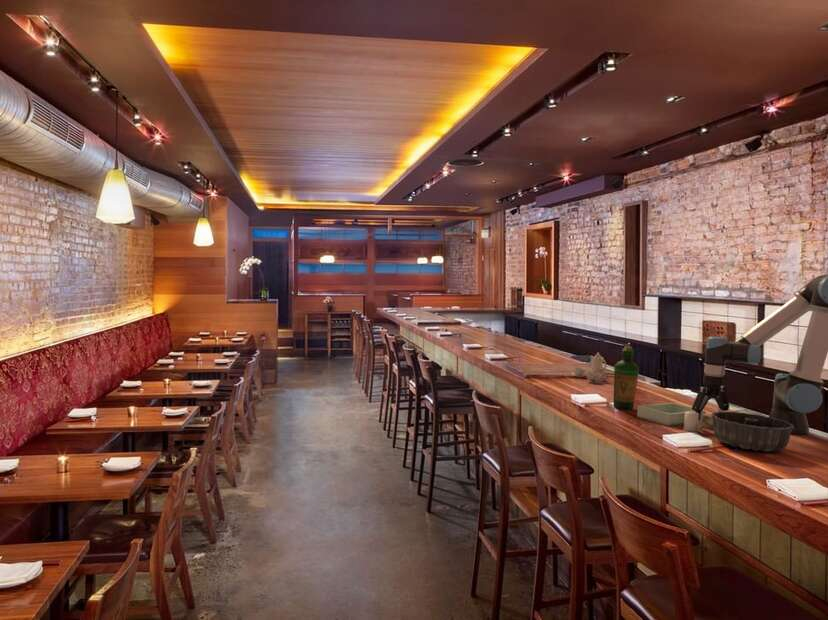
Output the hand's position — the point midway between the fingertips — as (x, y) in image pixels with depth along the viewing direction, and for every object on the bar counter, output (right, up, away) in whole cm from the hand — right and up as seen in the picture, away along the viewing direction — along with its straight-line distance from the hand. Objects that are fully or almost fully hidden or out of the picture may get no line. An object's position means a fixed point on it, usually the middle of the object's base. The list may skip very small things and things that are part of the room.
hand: (709, 426), depth 248 cm
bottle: (-25, +3, +28) cm, 38 cm away
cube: (0, 0, 0) cm, 0 cm away
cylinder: (-11, 0, -7) cm, 13 cm away
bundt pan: (+2, -2, -26) cm, 26 cm away
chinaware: (-17, +7, +105) cm, 107 cm away
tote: (-12, +1, +9) cm, 15 cm away
